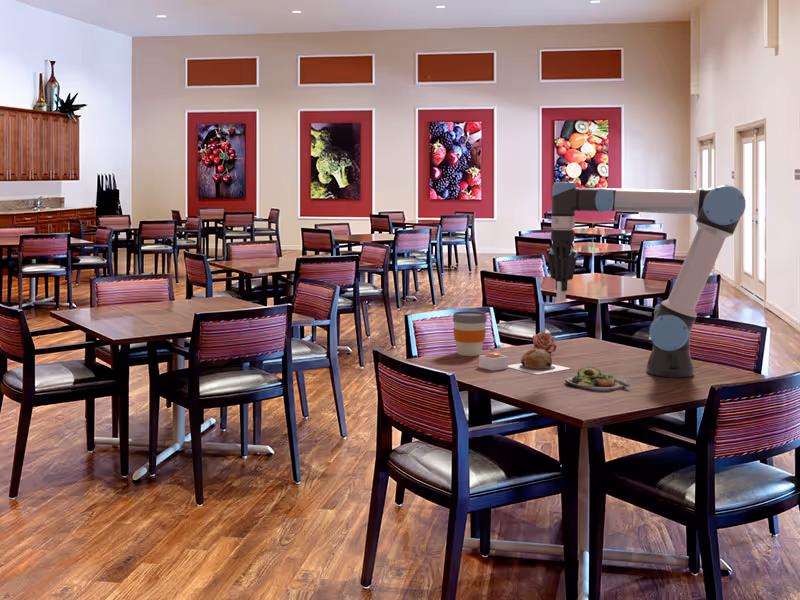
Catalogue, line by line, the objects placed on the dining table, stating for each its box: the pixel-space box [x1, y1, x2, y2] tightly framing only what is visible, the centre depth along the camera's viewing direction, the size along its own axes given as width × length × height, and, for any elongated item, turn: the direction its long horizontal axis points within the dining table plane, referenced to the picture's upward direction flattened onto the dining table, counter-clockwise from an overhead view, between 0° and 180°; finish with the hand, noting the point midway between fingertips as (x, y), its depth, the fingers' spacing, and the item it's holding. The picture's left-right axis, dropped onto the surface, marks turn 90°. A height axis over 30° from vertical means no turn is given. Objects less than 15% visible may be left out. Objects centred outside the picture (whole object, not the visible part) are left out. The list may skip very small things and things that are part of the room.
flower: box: [529, 331, 557, 356], centre depth 319 cm, size 10×9×8 cm
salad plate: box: [564, 366, 631, 392], centre depth 269 cm, size 19×18×5 cm
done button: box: [485, 351, 502, 358], centre depth 294 cm, size 5×5×3 cm
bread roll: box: [520, 348, 553, 369], centre depth 294 cm, size 10×10×8 cm
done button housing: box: [478, 354, 509, 371], centre depth 294 cm, size 7×7×4 cm
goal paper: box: [507, 362, 572, 376], centre depth 294 cm, size 16×16×1 cm
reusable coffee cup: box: [452, 310, 488, 357], centre depth 319 cm, size 13×13×15 cm
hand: (560, 300), depth 285 cm, fingers closed
